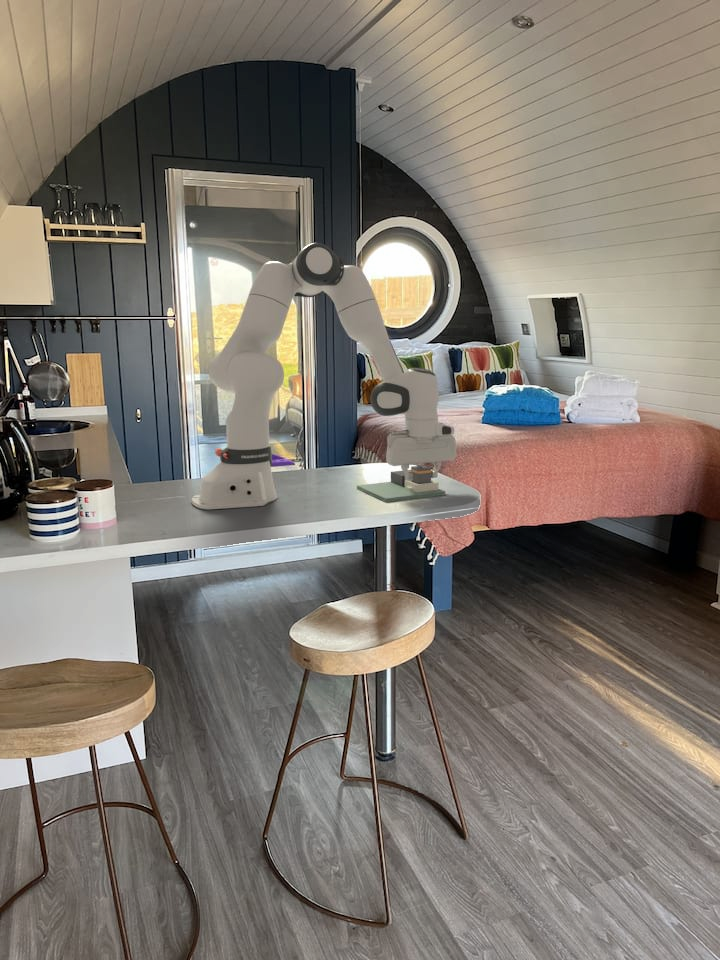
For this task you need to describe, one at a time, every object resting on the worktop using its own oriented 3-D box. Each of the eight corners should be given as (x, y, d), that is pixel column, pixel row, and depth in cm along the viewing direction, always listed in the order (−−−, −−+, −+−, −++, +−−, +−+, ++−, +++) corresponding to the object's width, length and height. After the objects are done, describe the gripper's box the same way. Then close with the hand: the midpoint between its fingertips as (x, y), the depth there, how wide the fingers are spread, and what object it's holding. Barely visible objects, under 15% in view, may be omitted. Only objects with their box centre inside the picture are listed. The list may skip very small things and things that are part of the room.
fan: (402, 486, 207) (402, 474, 207) (390, 482, 213) (390, 470, 213) (424, 484, 210) (424, 472, 209) (412, 479, 216) (412, 468, 216)
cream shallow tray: (414, 492, 200) (414, 485, 200) (401, 487, 206) (402, 480, 206) (438, 489, 203) (438, 482, 203) (425, 485, 209) (425, 478, 209)
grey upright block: (418, 490, 202) (418, 466, 201) (410, 487, 206) (410, 464, 204) (431, 489, 204) (431, 465, 202) (423, 486, 207) (424, 463, 206)
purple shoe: (259, 470, 240) (258, 449, 238) (254, 466, 246) (253, 446, 244) (295, 467, 243) (294, 447, 242) (290, 464, 250) (289, 444, 248)
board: (385, 502, 194) (385, 498, 194) (356, 488, 210) (356, 485, 210) (445, 495, 201) (445, 491, 201) (412, 482, 217) (412, 479, 217)
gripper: (392, 433, 194) (392, 484, 197) (459, 427, 203) (458, 477, 206) (381, 430, 200) (382, 480, 203) (447, 425, 208) (446, 473, 211)
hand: (421, 479), depth 204 cm, fingers open, 6 cm apart
